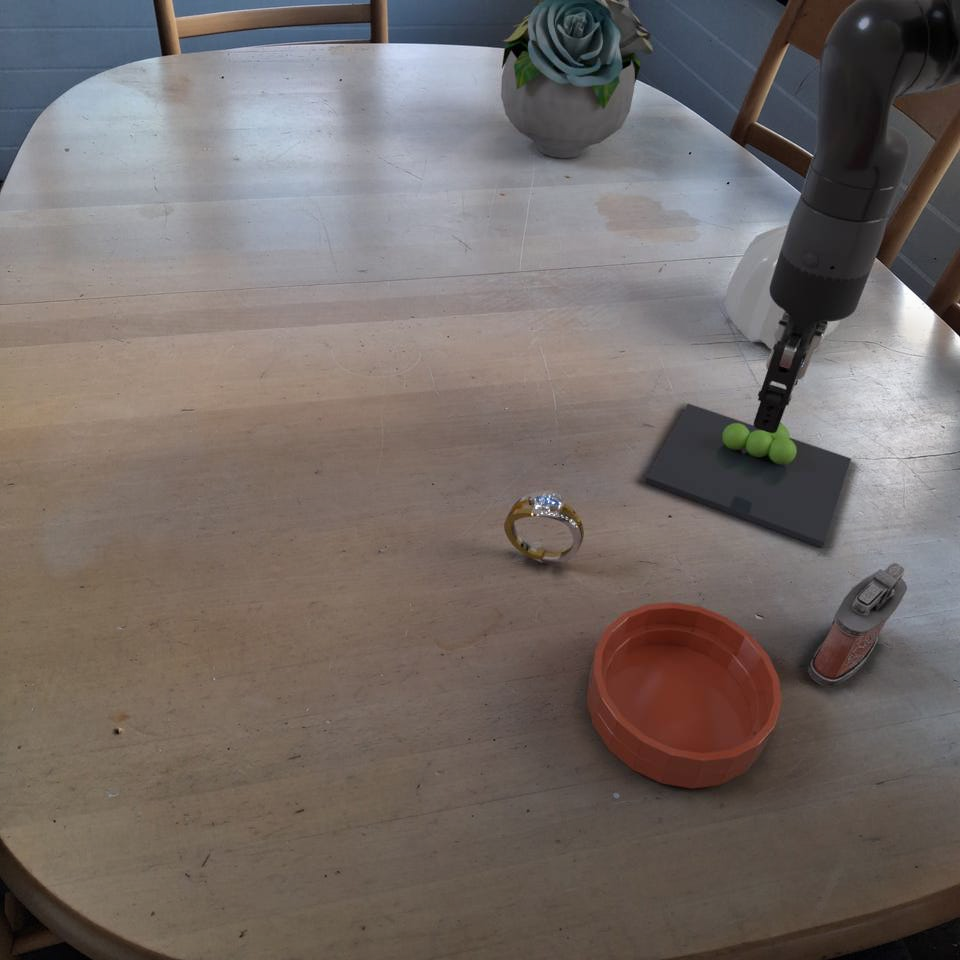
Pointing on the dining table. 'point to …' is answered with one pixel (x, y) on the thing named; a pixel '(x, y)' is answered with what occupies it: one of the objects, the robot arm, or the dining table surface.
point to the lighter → (858, 626)
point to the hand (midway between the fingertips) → (775, 404)
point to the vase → (758, 290)
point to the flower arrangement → (572, 73)
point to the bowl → (682, 694)
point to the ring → (545, 508)
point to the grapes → (761, 442)
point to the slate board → (751, 477)
